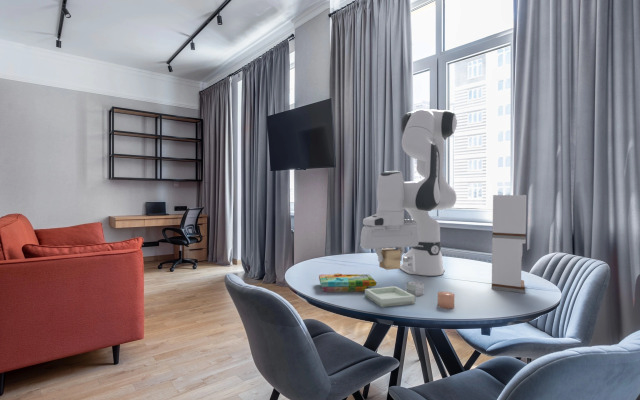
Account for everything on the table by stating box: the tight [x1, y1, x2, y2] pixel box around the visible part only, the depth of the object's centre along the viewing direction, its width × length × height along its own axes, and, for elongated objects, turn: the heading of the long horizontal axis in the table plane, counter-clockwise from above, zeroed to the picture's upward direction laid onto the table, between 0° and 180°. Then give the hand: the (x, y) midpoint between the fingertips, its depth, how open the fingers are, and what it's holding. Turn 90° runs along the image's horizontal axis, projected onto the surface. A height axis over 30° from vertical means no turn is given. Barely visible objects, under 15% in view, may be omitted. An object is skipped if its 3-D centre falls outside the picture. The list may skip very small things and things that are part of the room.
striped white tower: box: [491, 194, 527, 294], centre depth 131 cm, size 11×11×35 cm
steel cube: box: [406, 281, 424, 298], centre depth 122 cm, size 4×4×4 cm
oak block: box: [378, 248, 401, 271], centre depth 115 cm, size 5×5×6 cm
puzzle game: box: [318, 273, 378, 293], centre depth 130 cm, size 12×5×20 cm
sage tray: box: [364, 285, 416, 308], centre depth 116 cm, size 12×12×2 cm
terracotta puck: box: [437, 290, 456, 310], centre depth 110 cm, size 5×5×4 cm
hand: (390, 261), depth 115 cm, fingers closed on oak block, 5 cm apart
